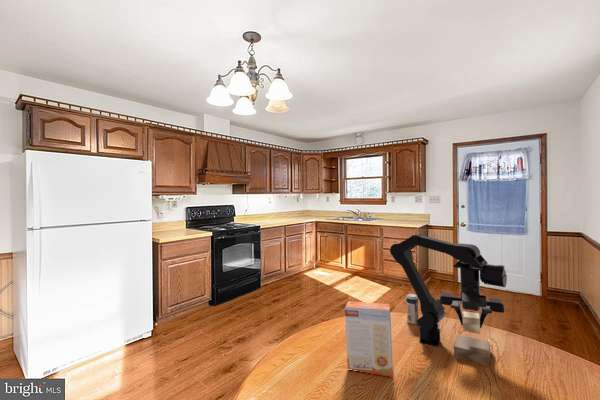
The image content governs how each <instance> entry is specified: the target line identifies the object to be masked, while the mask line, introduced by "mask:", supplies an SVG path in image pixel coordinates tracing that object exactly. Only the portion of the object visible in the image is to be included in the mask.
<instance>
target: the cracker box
mask: <svg viewBox="0 0 600 400" xmlns="http://www.w3.org/2000/svg"><path fill="white" fill-rule="evenodd" d="M344 313H345V318H344V319H345V340H346V342H345V343H346V345H345V346H346V363H347V364H346V365H347V370H348V369H352V370H357V371H362V372H367V373H366V374H368V373H371V374H370V375H375V374H377V376H383V377H388V376H389V377H390V378H392V377H393V372H394V371H393V366H394V365H393V363H394V361H393V340H392V322H391V320H392V319H391V303H381V302H380V303H377V302H367V301H366V302H362V301H352V300H350V301H349V300H348V301H347V303H346V305H345V307H344ZM362 372H361V373H362Z"/></svg>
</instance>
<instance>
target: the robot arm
mask: <svg viewBox="0 0 600 400" xmlns="http://www.w3.org/2000/svg"><path fill="white" fill-rule="evenodd" d="M416 247H422V248H426V249H429V250H433V251H437V252H440V253H443V254H446V255H448V256H451V257H452V258H453V259H455V260H457V262H456V263H455V264H454V265H452V266H453V268H458V269H459V279H460V280H459V282H460V296H454V294H453V293H451V292H444V291H442V292H441V293H440V295H439V298H436V299H435V298H434V297H433V296H432V295H431V292H430V291H429V288H428V287H427V285H426V283H425V281H424V280H423V278H422V276H421V274H420V272H419V270H418V268H417V266H416V265H415V262H414V257H413V251H412V250H413V249H415V248H416ZM389 253H390V255H391V256H392V258H393V259H394V261H396V263H398V264H399V265H400V266H401V268H402V269H403V271H404V273H405V274H406V277H407V279H408V281H409V283H410V284H411V286H412V287H411V288H412V289H413V290H414V294H415V295H417V297H418V302H419V305H420V306H419V307H420V312H421V314H422V316H420V317H419V319H418V320H417V324H416V325H417V326H418V327H419V341H418V342H419V343H422V344H426V345H432V346H439V343H441V329H440V328H439V323H440V321H442V320H443V319H444V318H445V315H446V311H445V309H446V308H445V307H444V306H450V308H452V309H454V311H455V312H456V314H457V317H458V319H459V321H460V324H461V326H463V310H462V309H464V310H470V311H475V312H478V311H479V312H480V313H479V318H480V329H482V327H483V324H484V323H485V319H486V317H487V316H488V314H493V312H494V313H502V314H503V313H505V304H504V302H503V300H502V299H501V298H493V297H488V300H487V296H486V295H482V294H480V293H481V289H480V287H481V286H480V282H481V283H483V284H484V285H488V286H494V287H499V288H506V286H507V284H508V283H507V282H508V275H507V271H506V268H505V265H502V264H498V265H497V264H496V265H495V264H488V261H487V260H486V259H485V258H484V256H483V255H482V254H481V250H480V248H479V247H478V245H477V246H476V245H475V244H471V243H455V242H449V241H446V240H441V239H438V238H434V237H430V236H426V235H422V234H421V233H416V234H412V235H411V236H410V237H408V238H406V239H404V240H403V241H400V242H397V243H393V244H392V245H391V246H390V249H389ZM443 305H444V306H443Z"/></svg>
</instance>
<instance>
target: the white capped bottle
mask: <svg viewBox="0 0 600 400" xmlns="http://www.w3.org/2000/svg"><path fill="white" fill-rule="evenodd" d="M405 299H406V301H405V303H406V322H407V323H409V324H410V323H411V325H418V324H417V320H418V319H419V318H420V317H419V316H420V315H419V298H418V296H417V295H416V293H408V294H406V297H405Z"/></svg>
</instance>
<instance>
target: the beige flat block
mask: <svg viewBox="0 0 600 400" xmlns="http://www.w3.org/2000/svg"><path fill="white" fill-rule="evenodd" d="M490 342H491V341H489V340H485V339H480V338H475V337H471V336H466V335H461V334H457V335H456V338H455V341H454V343H453V344H454V345H453V358H457V359H461V360H464V361H469V362H473V363H477V364H480V365H485V366H488V367H489V366H490V360H491V359H490V358H491V343H490Z"/></svg>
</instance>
